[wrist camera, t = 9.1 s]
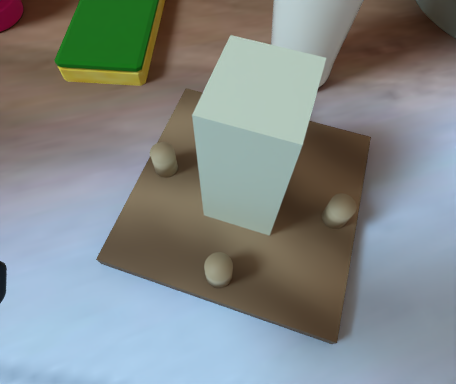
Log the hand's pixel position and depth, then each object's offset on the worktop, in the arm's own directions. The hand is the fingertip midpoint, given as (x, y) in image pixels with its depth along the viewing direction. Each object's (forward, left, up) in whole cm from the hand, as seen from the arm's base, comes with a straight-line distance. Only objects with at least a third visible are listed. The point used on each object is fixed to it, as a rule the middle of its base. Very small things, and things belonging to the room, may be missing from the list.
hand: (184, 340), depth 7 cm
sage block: (+10, -1, -12) cm, 16 cm away
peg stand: (+10, -1, -13) cm, 17 cm away
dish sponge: (+26, +13, -14) cm, 33 cm away
